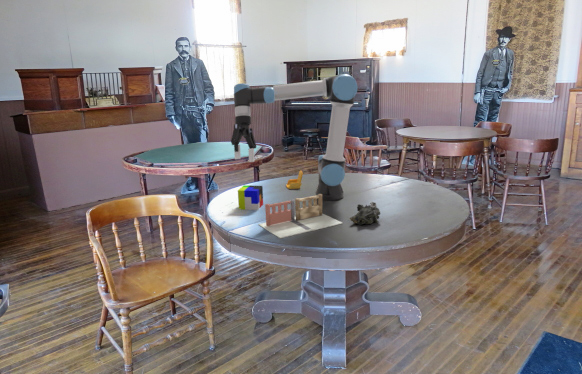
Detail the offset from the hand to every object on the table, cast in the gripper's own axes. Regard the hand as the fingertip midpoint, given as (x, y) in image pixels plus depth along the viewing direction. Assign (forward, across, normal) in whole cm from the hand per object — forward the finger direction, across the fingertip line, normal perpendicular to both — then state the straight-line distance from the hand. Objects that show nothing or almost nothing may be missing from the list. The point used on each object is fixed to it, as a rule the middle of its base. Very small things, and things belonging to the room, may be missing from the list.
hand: (245, 160), depth 210 cm
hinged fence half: (+30, +3, +18) cm, 35 cm away
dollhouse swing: (+10, -58, 0) cm, 59 cm away
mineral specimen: (+32, -14, +52) cm, 63 cm away
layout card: (+31, -1, +26) cm, 41 cm away
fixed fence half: (+29, -9, +27) cm, 41 cm away
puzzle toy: (+22, -16, -6) cm, 28 cm away
